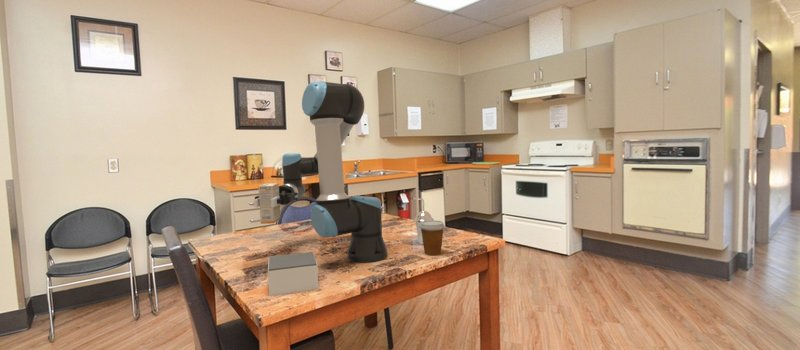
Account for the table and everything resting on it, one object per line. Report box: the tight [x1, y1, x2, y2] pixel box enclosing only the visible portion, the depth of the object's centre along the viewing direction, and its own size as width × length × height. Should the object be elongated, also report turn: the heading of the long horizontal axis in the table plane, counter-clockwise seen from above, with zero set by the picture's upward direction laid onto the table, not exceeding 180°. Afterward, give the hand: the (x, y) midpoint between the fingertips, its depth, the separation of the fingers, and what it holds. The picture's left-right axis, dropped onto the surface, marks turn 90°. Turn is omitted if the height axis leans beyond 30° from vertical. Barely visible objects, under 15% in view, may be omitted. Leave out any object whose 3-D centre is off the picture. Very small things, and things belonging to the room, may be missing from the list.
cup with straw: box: [411, 197, 434, 245], centre depth 164 cm, size 8×9×20 cm
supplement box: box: [258, 182, 282, 225], centre depth 134 cm, size 8×5×13 cm, turn 1°
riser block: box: [267, 251, 320, 297], centre depth 120 cm, size 14×14×8 cm
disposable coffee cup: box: [420, 219, 445, 256], centre depth 149 cm, size 10×10×12 cm
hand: (264, 203), depth 129 cm, fingers closed on supplement box, 5 cm apart
